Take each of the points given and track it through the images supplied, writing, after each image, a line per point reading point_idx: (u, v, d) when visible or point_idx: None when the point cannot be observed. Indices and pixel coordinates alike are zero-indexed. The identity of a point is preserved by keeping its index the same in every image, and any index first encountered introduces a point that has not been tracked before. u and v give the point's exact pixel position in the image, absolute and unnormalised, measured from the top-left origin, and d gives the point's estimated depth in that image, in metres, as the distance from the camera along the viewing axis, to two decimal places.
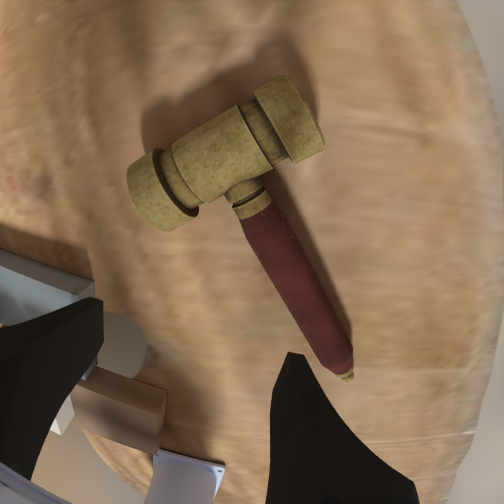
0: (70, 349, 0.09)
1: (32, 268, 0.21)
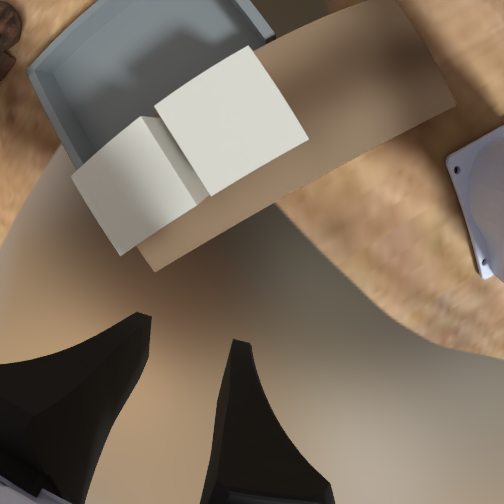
0: (123, 369, 0.09)
1: None
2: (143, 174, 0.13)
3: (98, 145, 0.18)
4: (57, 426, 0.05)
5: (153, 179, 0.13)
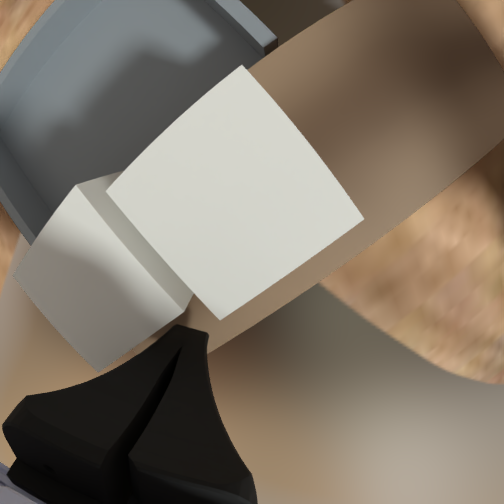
0: (169, 384, 0.09)
1: None
2: (99, 272, 0.08)
3: None
4: (122, 454, 0.05)
5: (114, 277, 0.08)
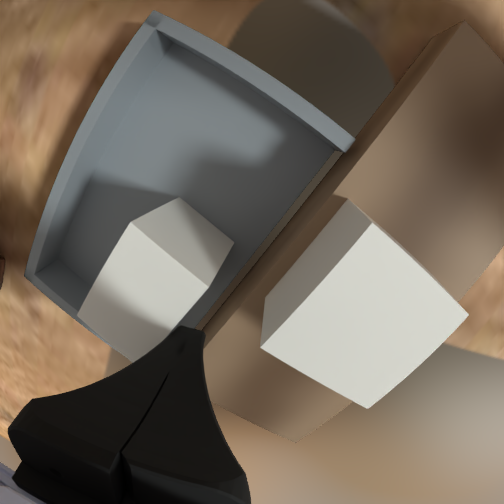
0: None
1: None
2: None
3: None
4: None
5: None
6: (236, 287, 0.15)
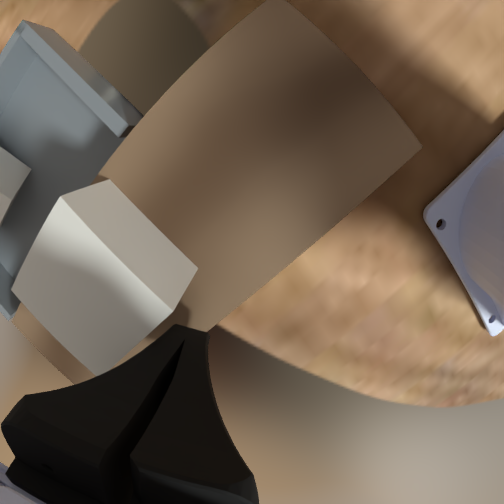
0: (168, 384, 0.09)
1: None
2: None
3: None
4: (120, 454, 0.05)
5: None
6: None
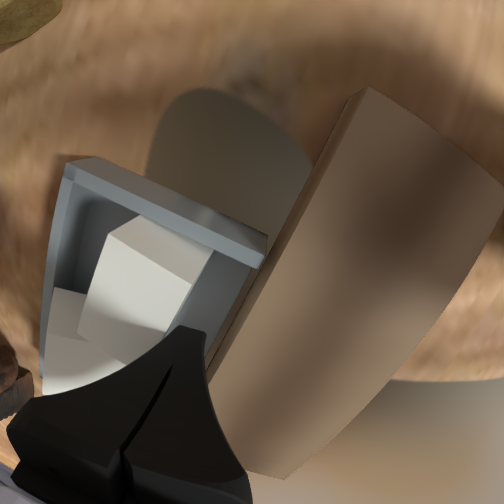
0: None
1: None
2: None
3: None
4: None
5: None
6: (208, 367, 0.17)
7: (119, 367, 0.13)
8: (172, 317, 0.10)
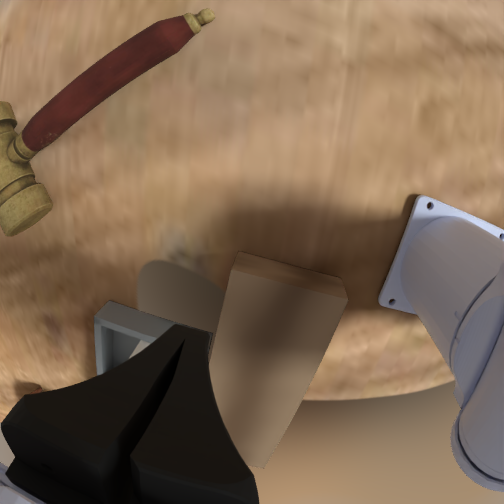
0: (168, 384, 0.09)
1: None
2: None
3: None
4: (120, 454, 0.05)
5: None
6: None
7: None
8: None
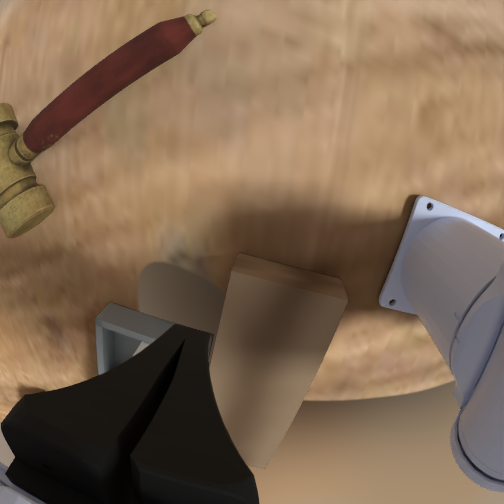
0: (168, 384, 0.09)
1: None
2: None
3: None
4: (120, 454, 0.05)
5: None
6: None
7: None
8: None
